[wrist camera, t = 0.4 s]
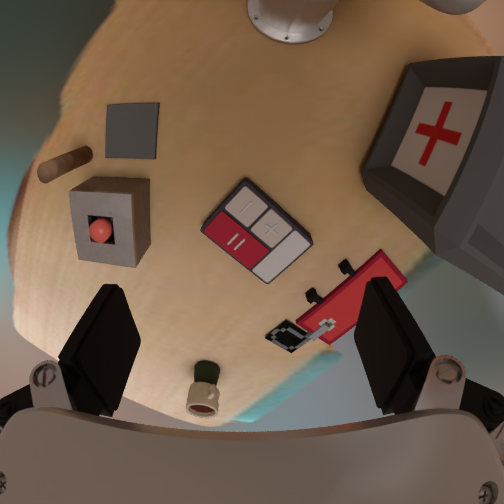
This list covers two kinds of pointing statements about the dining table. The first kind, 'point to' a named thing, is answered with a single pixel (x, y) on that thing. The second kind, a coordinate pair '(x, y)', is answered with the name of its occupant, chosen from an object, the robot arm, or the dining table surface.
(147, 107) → the rest pad
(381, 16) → the dining table surface
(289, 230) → the calculator
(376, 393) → the robot arm
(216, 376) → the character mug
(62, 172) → the brown cylinder
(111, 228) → the red ball
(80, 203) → the guard box
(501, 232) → the first aid kit
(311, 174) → the dining table surface
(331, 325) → the red board with handle
